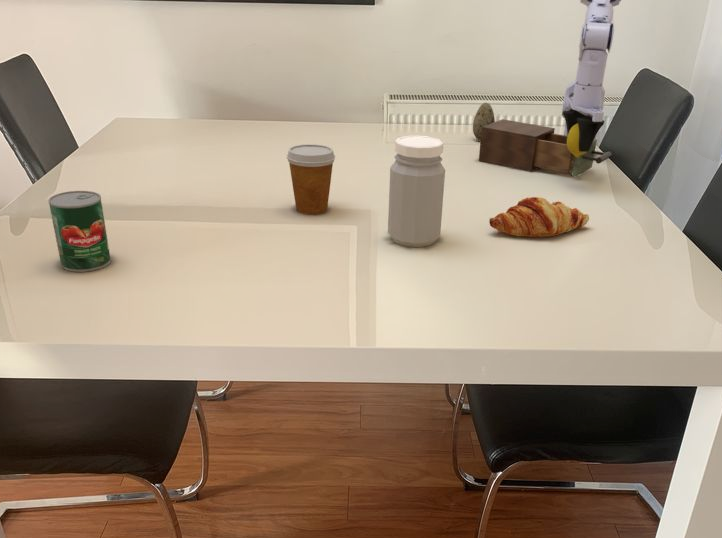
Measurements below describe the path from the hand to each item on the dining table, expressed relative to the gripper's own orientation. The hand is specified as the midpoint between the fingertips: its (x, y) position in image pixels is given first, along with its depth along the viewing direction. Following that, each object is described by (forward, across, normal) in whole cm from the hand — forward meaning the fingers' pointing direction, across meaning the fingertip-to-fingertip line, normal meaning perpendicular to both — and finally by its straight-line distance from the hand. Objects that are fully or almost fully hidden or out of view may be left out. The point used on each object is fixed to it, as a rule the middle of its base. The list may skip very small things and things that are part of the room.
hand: (578, 147), depth 169 cm
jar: (+9, -29, +44) cm, 54 cm away
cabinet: (+9, +21, +6) cm, 24 cm away
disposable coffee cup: (+9, -11, +61) cm, 63 cm away
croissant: (+9, -28, +19) cm, 35 cm away
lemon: (+2, 0, 0) cm, 2 cm away
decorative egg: (+9, +42, +8) cm, 44 cm away
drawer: (+8, +11, -3) cm, 14 cm away
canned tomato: (+9, -34, +102) cm, 108 cm away
